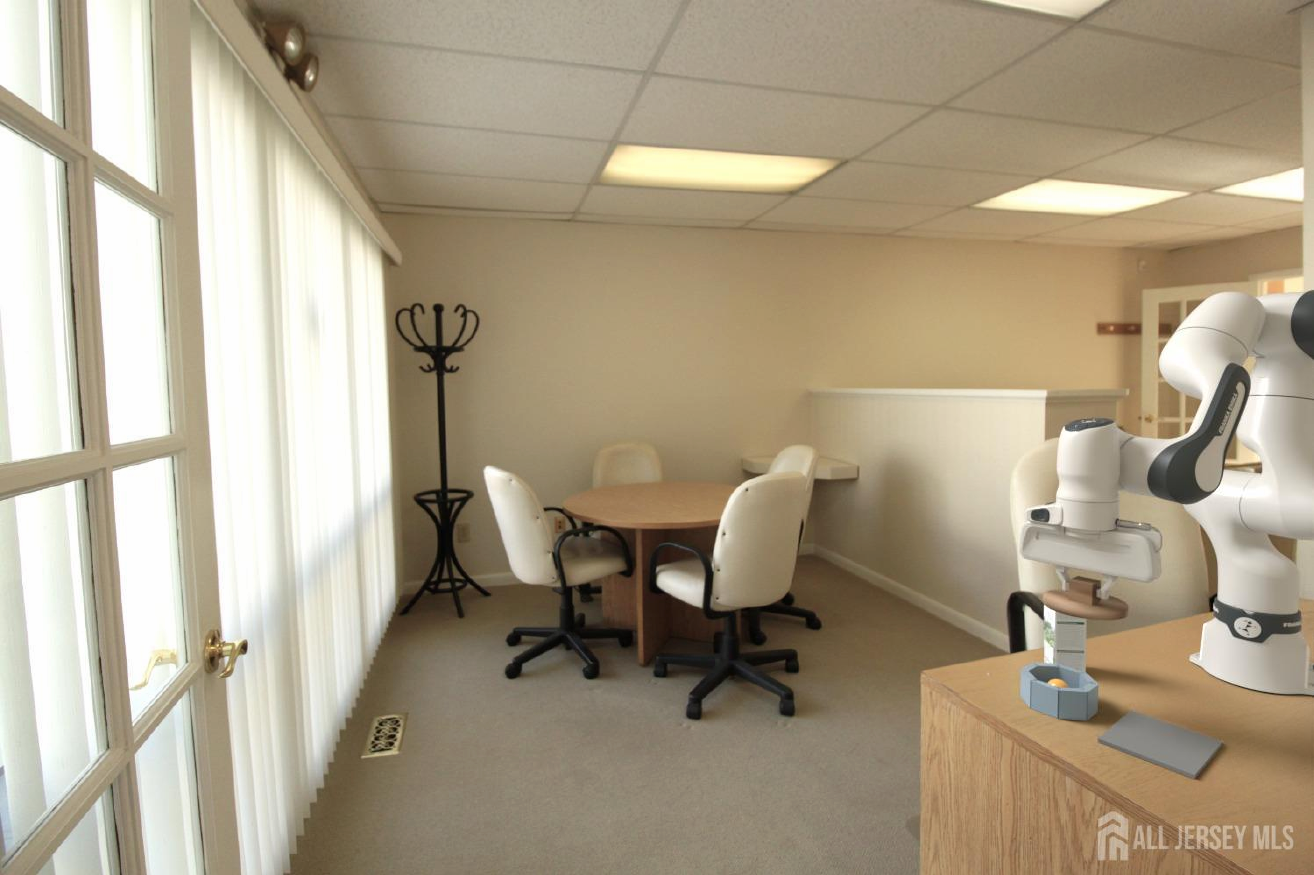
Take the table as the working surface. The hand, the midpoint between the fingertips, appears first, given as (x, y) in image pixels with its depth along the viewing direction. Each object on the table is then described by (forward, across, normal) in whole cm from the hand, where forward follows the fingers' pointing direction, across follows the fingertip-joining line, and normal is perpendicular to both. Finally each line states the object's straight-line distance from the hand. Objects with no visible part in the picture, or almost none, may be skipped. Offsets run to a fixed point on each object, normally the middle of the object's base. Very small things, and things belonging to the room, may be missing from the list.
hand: (1085, 595), depth 107 cm
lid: (+2, 0, 0) cm, 2 cm away
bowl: (+21, +4, 0) cm, 21 cm away
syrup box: (+21, +9, -15) cm, 27 cm away
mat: (+21, -11, +1) cm, 24 cm away
